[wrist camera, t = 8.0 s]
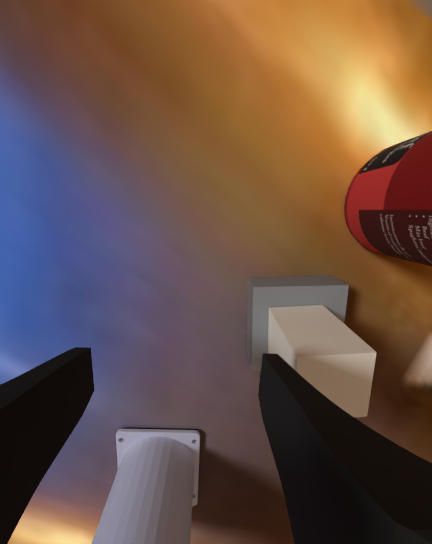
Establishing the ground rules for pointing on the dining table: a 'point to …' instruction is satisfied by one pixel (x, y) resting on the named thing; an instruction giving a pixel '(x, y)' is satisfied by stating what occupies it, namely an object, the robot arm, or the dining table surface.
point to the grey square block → (287, 304)
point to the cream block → (324, 354)
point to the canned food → (394, 201)
